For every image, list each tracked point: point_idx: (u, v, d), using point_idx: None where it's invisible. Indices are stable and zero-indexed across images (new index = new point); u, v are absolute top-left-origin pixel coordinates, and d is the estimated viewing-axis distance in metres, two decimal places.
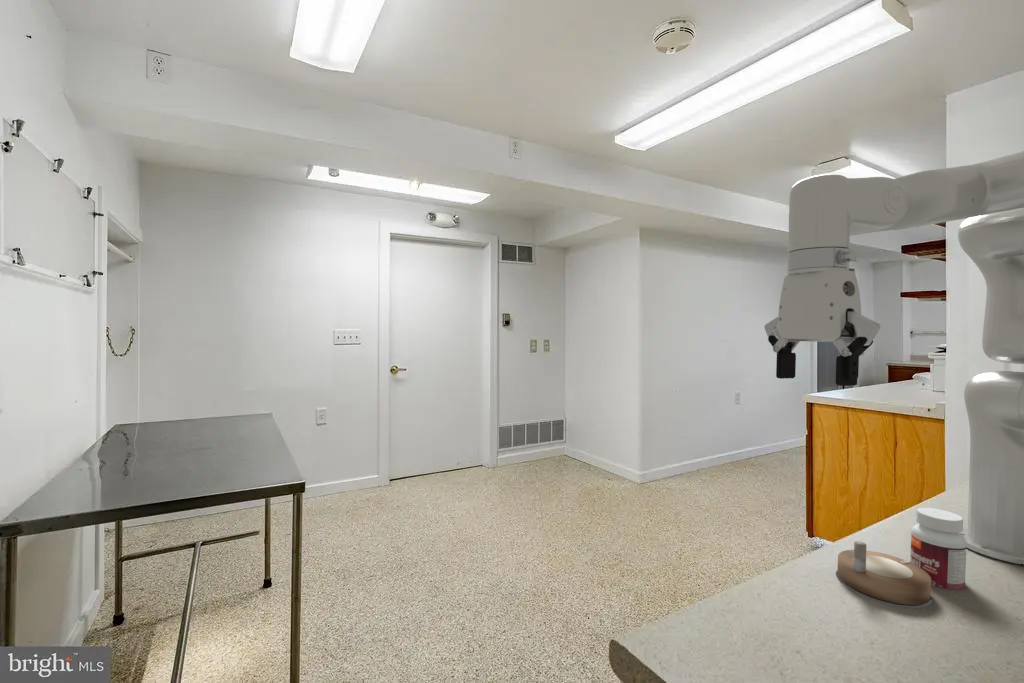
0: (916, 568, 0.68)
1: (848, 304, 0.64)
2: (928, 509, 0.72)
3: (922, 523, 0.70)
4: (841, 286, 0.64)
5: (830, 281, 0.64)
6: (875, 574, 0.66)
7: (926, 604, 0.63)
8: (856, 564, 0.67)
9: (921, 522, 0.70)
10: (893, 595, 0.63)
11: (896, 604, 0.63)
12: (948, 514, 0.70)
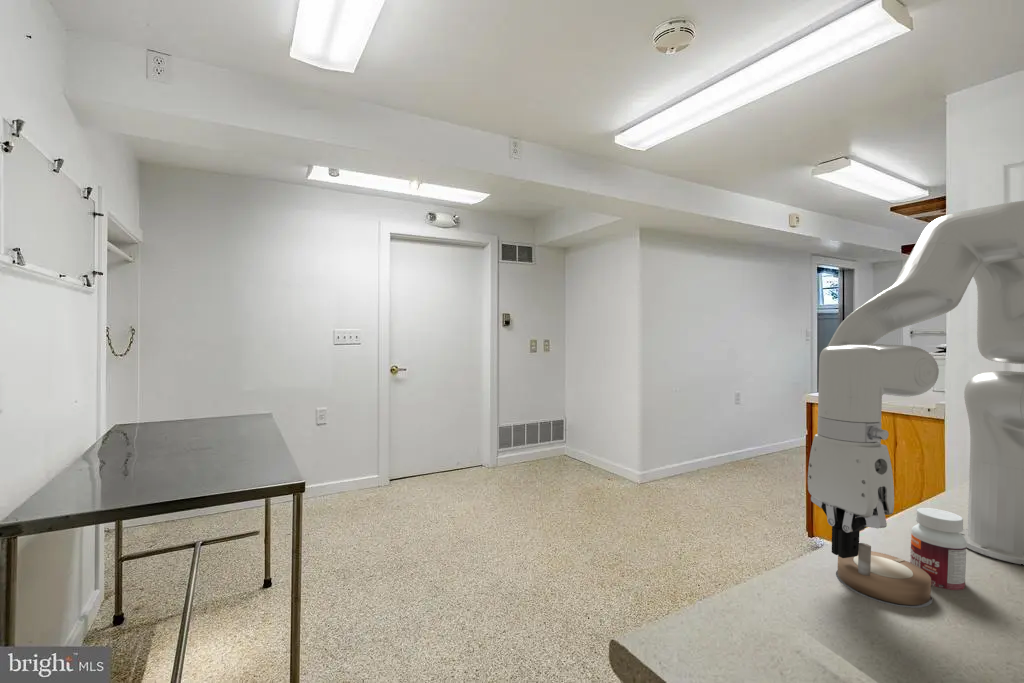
0: (912, 565, 0.68)
1: (880, 482, 0.64)
2: (928, 509, 0.72)
3: (922, 523, 0.70)
4: (873, 464, 0.64)
5: (862, 458, 0.64)
6: (879, 575, 0.66)
7: (926, 604, 0.63)
8: (861, 566, 0.66)
9: (921, 522, 0.70)
10: (899, 596, 0.63)
11: (896, 604, 0.63)
12: (948, 514, 0.70)
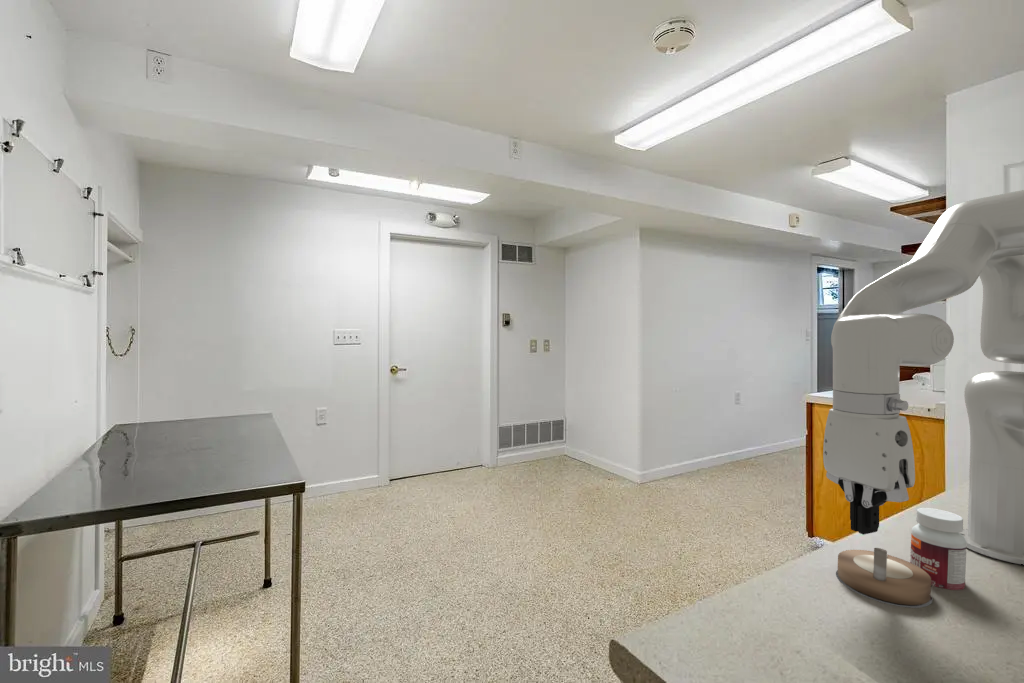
0: (898, 559, 0.70)
1: (901, 455, 0.62)
2: (928, 509, 0.72)
3: (922, 523, 0.70)
4: (893, 437, 0.62)
5: (881, 430, 0.62)
6: (892, 578, 0.65)
7: (926, 604, 0.63)
8: (879, 573, 0.64)
9: (921, 522, 0.70)
10: (916, 597, 0.63)
11: (896, 604, 0.63)
12: (948, 514, 0.70)
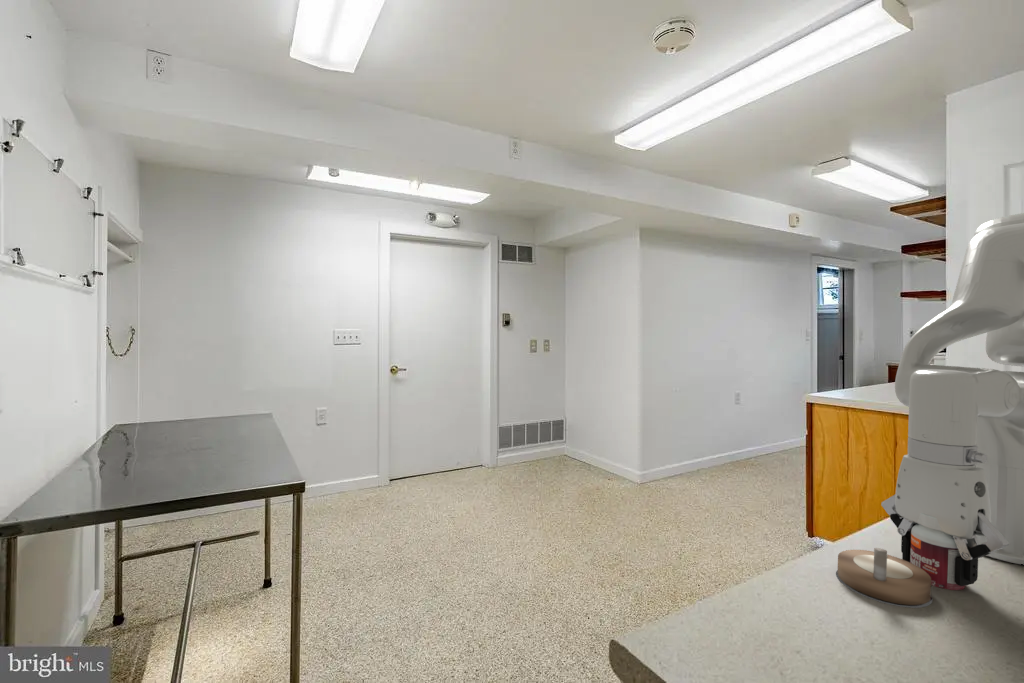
0: (898, 559, 0.70)
1: (980, 505, 0.65)
2: None
3: (922, 523, 0.70)
4: (973, 487, 0.65)
5: (960, 480, 0.66)
6: (892, 578, 0.65)
7: (926, 604, 0.63)
8: (879, 573, 0.64)
9: (921, 522, 0.70)
10: (916, 597, 0.63)
11: (896, 604, 0.63)
12: None
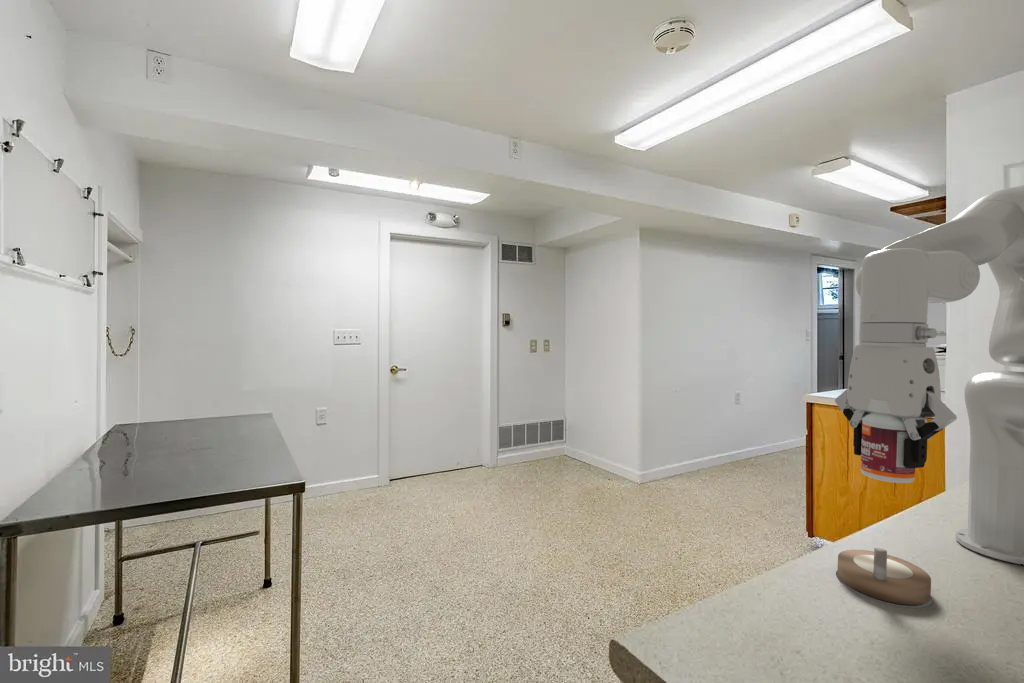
0: (898, 559, 0.70)
1: (928, 382, 0.63)
2: None
3: (872, 409, 0.67)
4: (921, 364, 0.63)
5: (909, 358, 0.63)
6: (892, 578, 0.65)
7: (926, 604, 0.63)
8: (879, 573, 0.64)
9: (871, 408, 0.68)
10: (916, 597, 0.63)
11: (896, 604, 0.63)
12: None
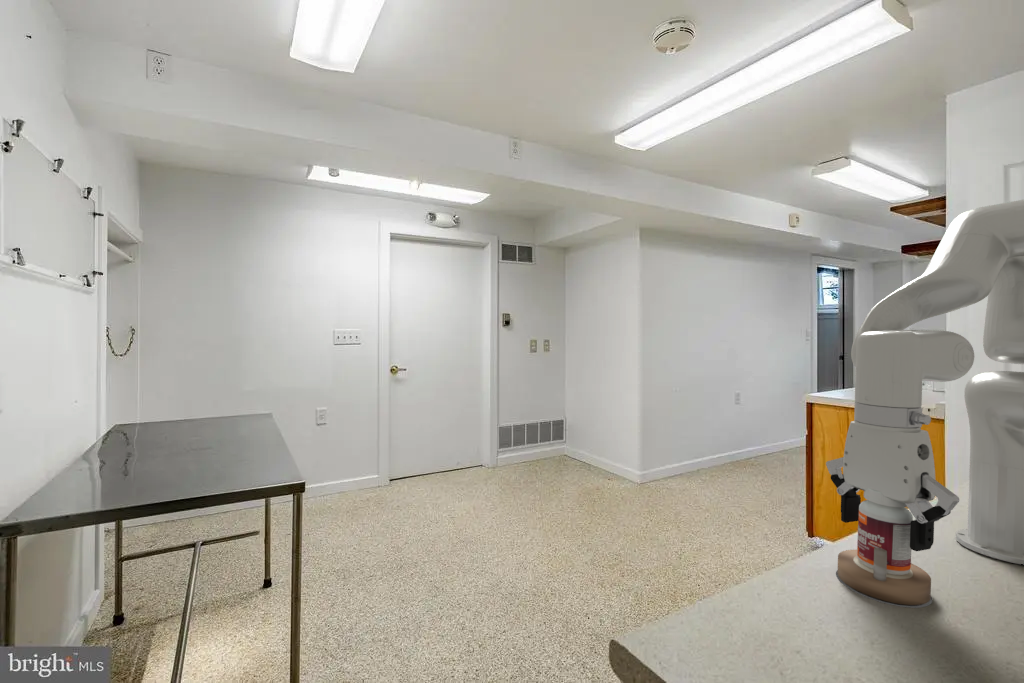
0: None
1: (923, 468, 0.63)
2: None
3: (868, 498, 0.68)
4: (916, 450, 0.63)
5: (904, 443, 0.64)
6: (892, 578, 0.65)
7: (926, 604, 0.63)
8: (879, 573, 0.64)
9: (868, 497, 0.68)
10: (916, 597, 0.63)
11: (896, 604, 0.63)
12: None
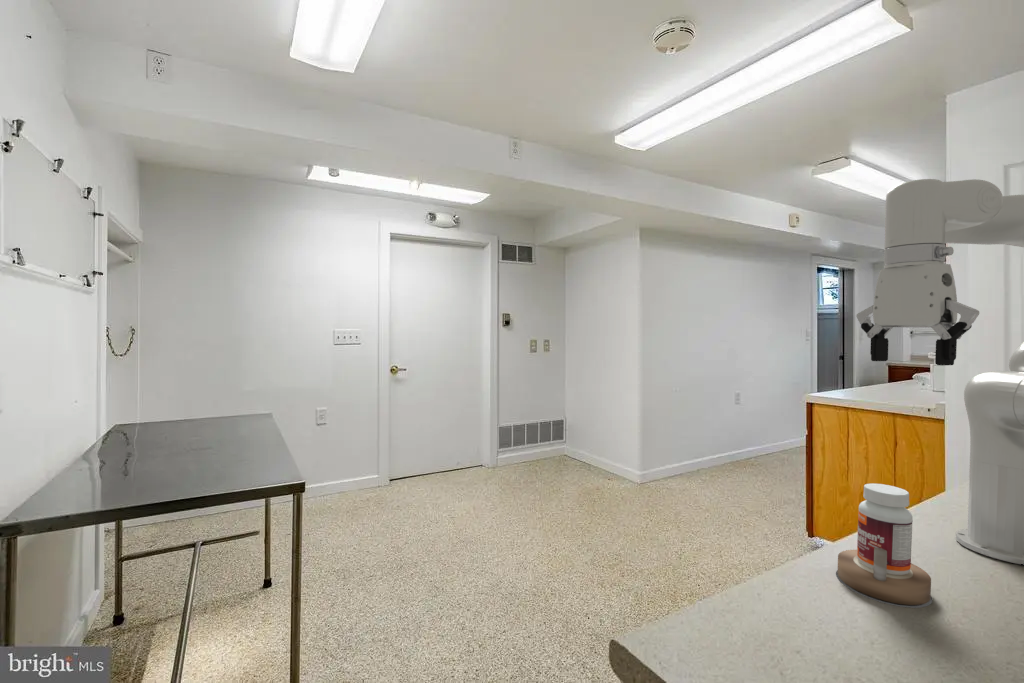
0: None
1: (946, 293, 0.72)
2: (875, 485, 0.70)
3: (868, 498, 0.68)
4: (940, 277, 0.72)
5: (929, 273, 0.73)
6: (892, 578, 0.65)
7: (926, 604, 0.63)
8: (879, 573, 0.64)
9: (867, 497, 0.68)
10: (916, 597, 0.63)
11: (896, 604, 0.63)
12: (895, 489, 0.68)
